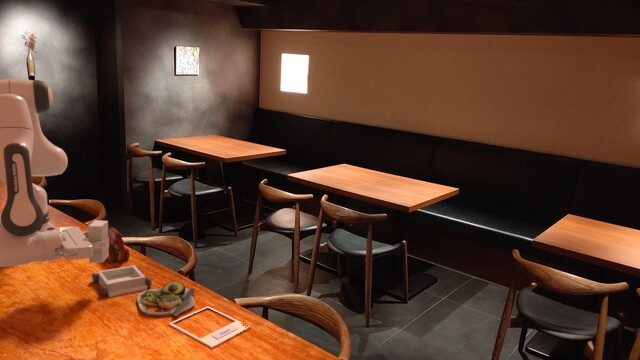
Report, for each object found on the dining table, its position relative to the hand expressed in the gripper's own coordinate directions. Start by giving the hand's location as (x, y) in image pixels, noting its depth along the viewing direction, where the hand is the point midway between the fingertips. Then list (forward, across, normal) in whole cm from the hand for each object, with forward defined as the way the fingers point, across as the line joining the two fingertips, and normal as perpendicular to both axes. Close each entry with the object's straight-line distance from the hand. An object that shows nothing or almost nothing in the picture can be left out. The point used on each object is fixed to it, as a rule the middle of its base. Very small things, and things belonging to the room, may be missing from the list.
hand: (101, 238), depth 159 cm
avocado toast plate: (+14, -19, +17) cm, 29 cm away
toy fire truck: (+11, +23, +17) cm, 31 cm away
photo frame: (+19, -39, +17) cm, 47 cm away
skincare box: (-1, 0, +7) cm, 7 cm away
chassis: (+6, 0, +17) cm, 18 cm away
